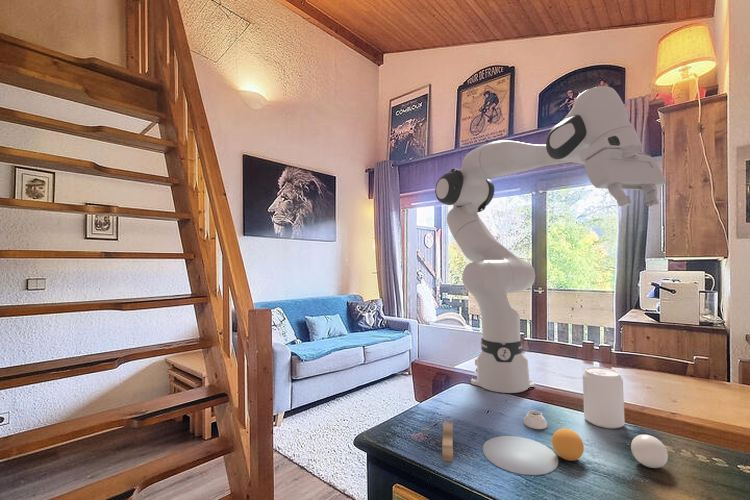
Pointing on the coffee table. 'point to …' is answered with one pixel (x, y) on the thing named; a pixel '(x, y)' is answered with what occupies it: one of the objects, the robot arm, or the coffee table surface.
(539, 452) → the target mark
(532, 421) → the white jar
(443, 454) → the wall
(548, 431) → the coffee table surface
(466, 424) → the coffee table surface
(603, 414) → the beverage can
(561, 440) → the orange ball
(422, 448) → the coffee table surface
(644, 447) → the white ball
